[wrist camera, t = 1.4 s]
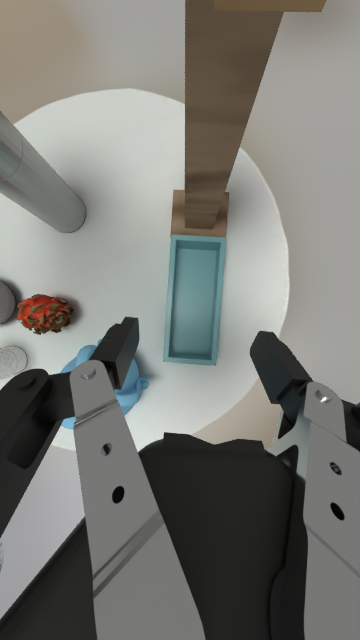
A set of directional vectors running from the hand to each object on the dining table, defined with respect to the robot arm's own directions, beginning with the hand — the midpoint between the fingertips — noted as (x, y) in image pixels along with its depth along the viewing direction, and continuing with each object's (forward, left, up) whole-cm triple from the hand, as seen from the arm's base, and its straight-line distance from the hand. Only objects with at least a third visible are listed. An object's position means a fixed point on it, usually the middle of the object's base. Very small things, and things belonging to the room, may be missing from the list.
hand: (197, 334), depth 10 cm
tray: (-2, +3, -26) cm, 27 cm away
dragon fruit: (-22, -23, -27) cm, 42 cm away
